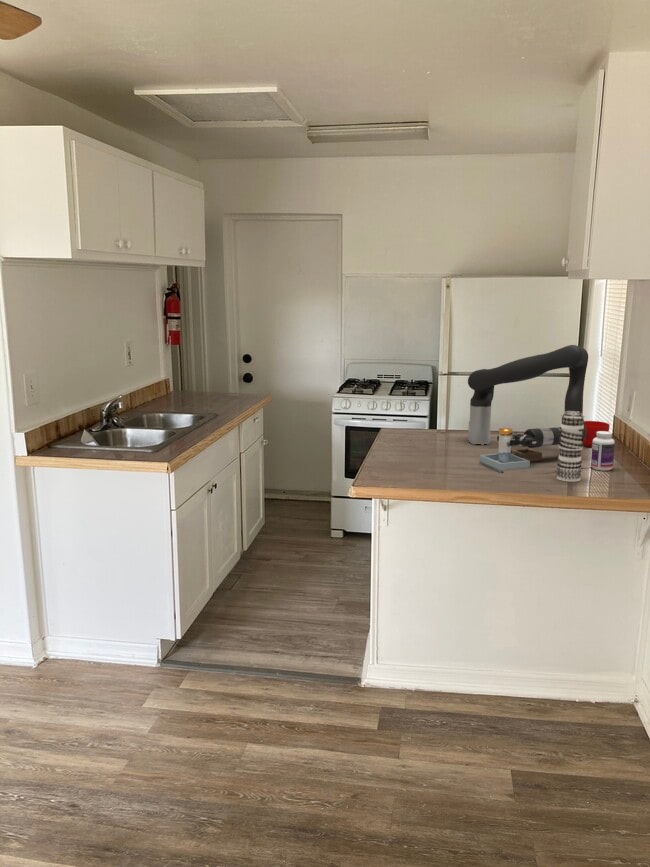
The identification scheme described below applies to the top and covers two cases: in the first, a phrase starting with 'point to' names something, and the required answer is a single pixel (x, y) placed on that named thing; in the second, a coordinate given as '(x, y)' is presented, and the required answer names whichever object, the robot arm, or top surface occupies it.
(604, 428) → the ceramic cup
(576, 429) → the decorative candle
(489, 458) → the tray
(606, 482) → the top surface
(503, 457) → the glass jar
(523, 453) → the square wooden frame
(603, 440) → the pill bottle
